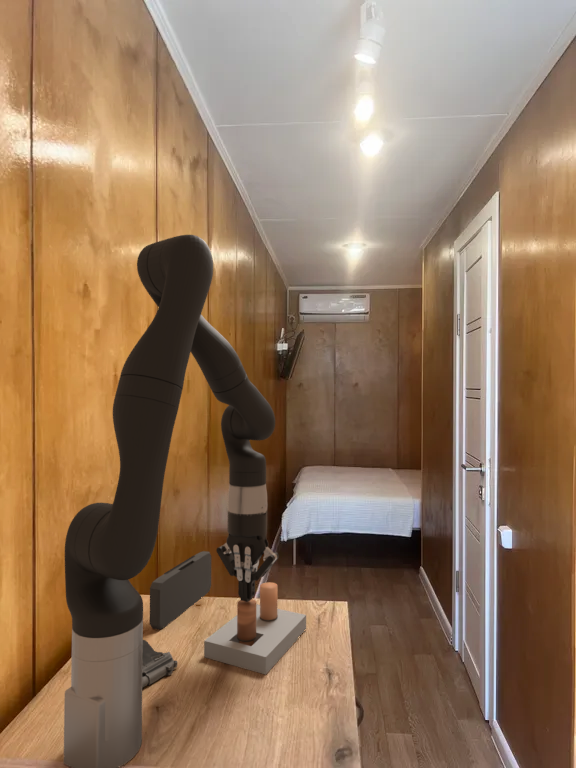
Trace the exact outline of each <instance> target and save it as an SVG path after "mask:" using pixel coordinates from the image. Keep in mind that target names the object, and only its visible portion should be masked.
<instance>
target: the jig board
mask: <svg viewBox="0 0 576 768" xmlns="http://www.w3.org/2000/svg"><path fill="white" fill-rule="evenodd" d="M278 592H279V591H278V584H277V583H276V582H269V581H268V582H263V583H261V584H260V585H259V604H257V603H256V635H257V637H256V639H255V640H254V644H253V645H252V646H249V645H245V644H241V643H239V640H238V639H237V614H236V615H235V616H234V617H233V618H231V619H230V620H229V621H227V622H226V623H225V624H224V625H222V626H221V627H219V629H217V630H216V631H215V632H213V633H212V634H211V635H209V636H208V637H207V638H206V639H204V641H203V657H204V658H206V659H210V660H213V661H217V662H221V663H223V664H226V665H230V666H234V667H238V668H240V669H241V668H242V669H244V670H248V671H252V672H254V673H259V674H263V675H265V676H266V675H267V674H268V672H270V671H271V669H273V667H275V665H276V664H277V663H278V662H279V661H280V659H282V657H284V655H285V654H286V653H287V652H288V650H290V648H291V647H292V646H293V645H294V644H295V643H294V642H297V640H298V639H299V638H300V637H301V636H302V635H303V634H304V633H305V631H306V630H307V614H303V613H299V612H294V611H290V610H286V609H281V608H278V603H279V602H278V599H279V598H278V594H279V593H278ZM305 629H306V630H305ZM304 630H305V631H304ZM303 632H304V633H303ZM302 633H303V634H302ZM301 634H302V635H301ZM300 635H301V636H300ZM299 636H300V637H299ZM298 637H299V638H298ZM293 643H294V644H293ZM292 644H293V645H292Z"/></svg>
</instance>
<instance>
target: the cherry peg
mask: <svg viewBox="0 0 576 768" xmlns="http://www.w3.org/2000/svg"><path fill="white" fill-rule="evenodd" d="M236 603H237V604H236V605H237V606H236V609H237V611H236V612H237V613H236V615H237V639H238V640H239V643H241V644H245V645H249V646H252V645H253V644H254V640H255V639H256V637H257V635H256V604H257V601H256V600H255V599H253V598H252V599H251V600H250V601H249V602H246V601H241V599H239V600H238V601H237V602H236Z"/></svg>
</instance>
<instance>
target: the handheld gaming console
mask: <svg viewBox="0 0 576 768" xmlns="http://www.w3.org/2000/svg"><path fill="white" fill-rule="evenodd" d="M211 587H212V555H211V552H210V551H200V552H198V553H196V554H195V555H192V556H191V557H188V558H186V559H185V560H184V561H183V562H180V563H179V564H177V565H175V566H174V567H172V568H170V569H169V570H168V571H165V572H164V573H163V574H162V575H160V576H158V577H157V578H156V579H154V580H153V581H152V582H151V584H150V587H149V625H150V627H151V628H152V629H154V630H162V629H163V628H165V627H167V626H168V625H170V624H171V623H172V622H174V621H175V620H176V619H177V618H178V617H179V616H181V615H182V614H184V612H186V611H187V610H188V609H190V608H191V607H192V606H193V605H195V604H196V603H197V602H199V600H201V599H202V598H203V597H205V596H206V595H208V593H209V592H210V590H211ZM201 597H202V598H201ZM194 603H195V604H194ZM190 606H191V607H190ZM189 607H190V608H189Z"/></svg>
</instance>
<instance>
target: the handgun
mask: <svg viewBox="0 0 576 768" xmlns="http://www.w3.org/2000/svg"><path fill="white" fill-rule="evenodd" d="M177 667H178V660H176V659H175V660H174V659H173V655H172V654H171V652H170V651H167V652H160V651H156V650H154V648H153V647H152V645H150V643H149V642H148V641H147V640H145V639H143V656H142V689H143V688H145V687H146V686H147V687H148V686H150V685H152V684H154V683H155V682H157V681H158V680H160V679H162V678H163V677H165V676H170V675H171V676H172V674H173V671H174V669H175V668H177Z"/></svg>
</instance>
